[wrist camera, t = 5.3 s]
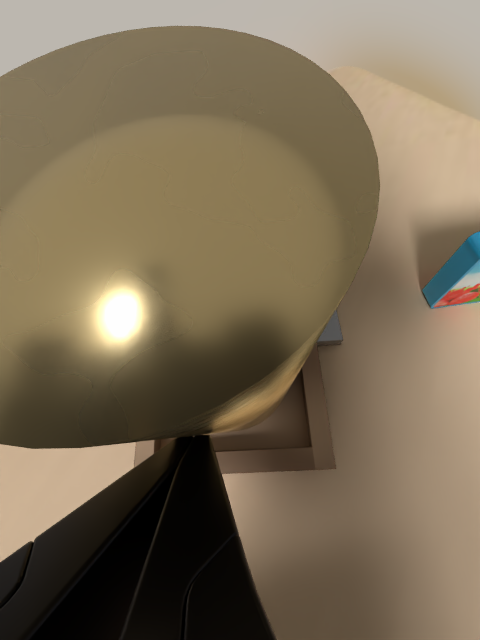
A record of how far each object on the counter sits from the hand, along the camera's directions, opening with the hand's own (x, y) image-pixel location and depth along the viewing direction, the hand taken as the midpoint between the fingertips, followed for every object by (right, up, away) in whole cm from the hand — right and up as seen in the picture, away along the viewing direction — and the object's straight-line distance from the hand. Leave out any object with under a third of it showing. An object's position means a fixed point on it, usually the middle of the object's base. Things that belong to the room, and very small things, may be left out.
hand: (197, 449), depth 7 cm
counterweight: (+1, 0, +10) cm, 10 cm away
